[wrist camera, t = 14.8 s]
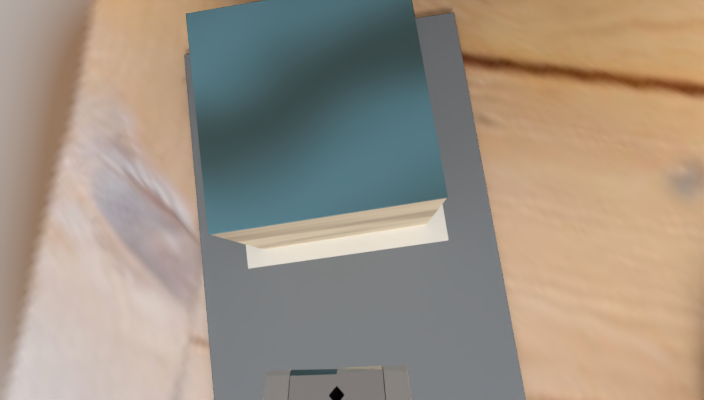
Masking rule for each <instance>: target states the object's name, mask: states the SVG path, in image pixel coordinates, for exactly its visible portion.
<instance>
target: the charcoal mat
mask: <svg viewBox="0 0 704 400" xmlns="http://www.w3.org/2000/svg"><path fill="white" fill-rule="evenodd" d="M415 20H416V26H417V31H418V36H419V42H420V47H421V53H422V58H423V64H424V69H425V74H426V80H427V85H428V91H429V96H430V102H431V107H432V112H433V118H434V123H435V129H436V134H437V140H438V145H439V150H440V156H441V161H442V167H443V172H444V178H445V183H446V188H447V194H448V197H447V199H446V200H445V201H444V202H443V204H442V205H441V206H440V208H439V209H438V210H437V212H436V213H435V214H434V215H433V217H432V218H431V219H430V221H429V222H428V223H427V224H425V225H419V226H413V227H406V228H400V229H393V230H387V231H380V232H374V233H367V234H361V235H354V236H348V237H341V238H335V239H329V240H322V241H316V242H309V243H303V244H296V245H290V246H283V247H277V248H270V249H260V248H256V247H253V246H249V245H246V244H242V243H238V242H235V241H231V240H227V239H224V238H220V237H217V236H213V235H209V234H208V228H207V218H206V208H205V198H204V188H203V178H202V168H201V159H200V149H199V139H198V129H197V119H196V109H195V99H194V90H193V80H192V70H191V60H190V54H187V55H184V57H185V68H186V80H187V91H188V103H189V114H190V126H191V137H192V149H193V161H194V172H195V184H196V195H197V207H198V218H199V230H200V241H201V253H202V264H203V276H204V287H205V299H206V310H207V322H208V333H209V345H210V356H211V368H212V379H213V391H214V400H262V398H263V391H264V384H265V378H266V375H267V372H268V371H270V370H310V369H337V368H347V367H364V366H382V367H383V366H395V365H405V366H406V368H407V370H408V377H409V384H410V391H411V398H412V400H526V398H525V393H524V387H523V382H522V376H521V371H520V366H519V360H518V355H517V350H516V344H515V339H514V333H513V328H512V323H511V317H510V312H509V306H508V301H507V296H506V290H505V285H504V279H503V274H502V269H501V263H500V258H499V253H498V247H497V242H496V236H495V231H494V226H493V220H492V215H491V209H490V204H489V199H488V193H487V188H486V182H485V177H484V172H483V166H482V161H481V156H480V150H479V145H478V139H477V134H476V129H475V123H474V118H473V112H472V107H471V102H470V96H469V91H468V85H467V80H466V75H465V69H464V64H463V59H462V53H461V48H460V42H459V37H458V32H457V26H456V21H455V15H454V12H453V13H447V14H441V15H434V16H428V17H422V18H415Z"/></svg>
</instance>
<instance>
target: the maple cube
mask: <svg viewBox="0 0 704 400" xmlns="http://www.w3.org/2000/svg"><path fill="white" fill-rule="evenodd" d="M186 20H187V30H188V40H189V50H190V60H191V70H192V80H193V90H194V99H195V109H196V119H197V129H198V139H199V149H200V159H201V168H202V178H203V188H204V198H205V208H206V218H207V228H208V234H209V235H213V236H217V237H220V238H224V239H227V240H231V241H235V242H238V243H242V244H246V245H249V246H253V247H256V248H260V249H270V248H277V247H283V246H290V245H296V244H303V243H309V242H316V241H322V240H329V239H335V238H341V237H348V236H354V235H361V234H367V233H374V232H380V231H387V230H393V229H400V228H406V227H413V226H419V225H425V224H427V223H428V222H429V221H430V219H431V218H432V217H433V215H434V214H435V213H436V212H437V210H438V209H439V208H440V206H441V205H442V204H443V202H444V201H445V200H446V199H447V197H448V194H447V188H446V183H445V178H444V172H443V167H442V161H441V156H440V150H439V145H438V140H437V134H436V129H435V123H434V118H433V112H432V107H431V102H430V96H429V91H428V85H427V80H426V74H425V69H424V64H423V58H422V53H421V47H420V42H419V36H418V31H417V26H416V20H415V15H414V9H413V4H412V0H263V1H257V2H251V3H246V4H240V5H234V6H228V7H222V8H216V9H211V10H205V11H199V12H193V13H187V14H186Z"/></svg>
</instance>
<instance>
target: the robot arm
mask: <svg viewBox="0 0 704 400" xmlns="http://www.w3.org/2000/svg"><path fill="white" fill-rule="evenodd" d="M262 400H412V398H411V391H410V384H409V377H408V370H407V368H406V366H405V365H395V366H383V367H382V366H364V367H347V368H337V369H310V370H270V371H268V372H267V375H266V378H265V384H264V391H263V398H262Z"/></svg>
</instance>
